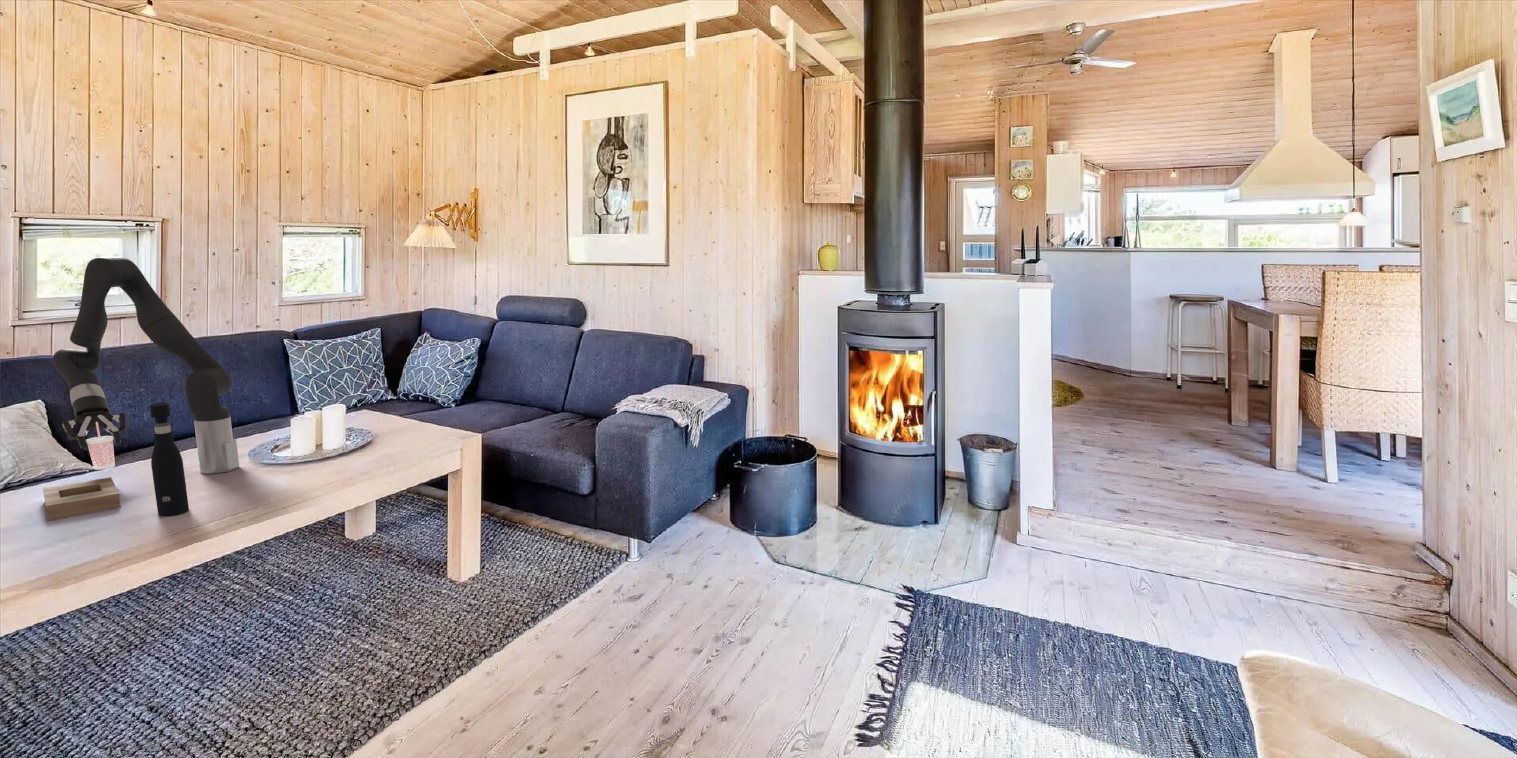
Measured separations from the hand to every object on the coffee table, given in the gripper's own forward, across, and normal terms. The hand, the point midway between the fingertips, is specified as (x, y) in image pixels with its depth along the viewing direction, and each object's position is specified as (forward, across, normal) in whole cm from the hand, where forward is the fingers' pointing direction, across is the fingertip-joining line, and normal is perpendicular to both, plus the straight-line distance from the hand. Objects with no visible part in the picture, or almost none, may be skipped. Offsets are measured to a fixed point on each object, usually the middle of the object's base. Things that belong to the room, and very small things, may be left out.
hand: (101, 446), depth 203 cm
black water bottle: (+38, +8, -20) cm, 44 cm away
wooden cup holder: (+20, -7, -3) cm, 21 cm away
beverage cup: (+4, 0, +6) cm, 7 cm away
